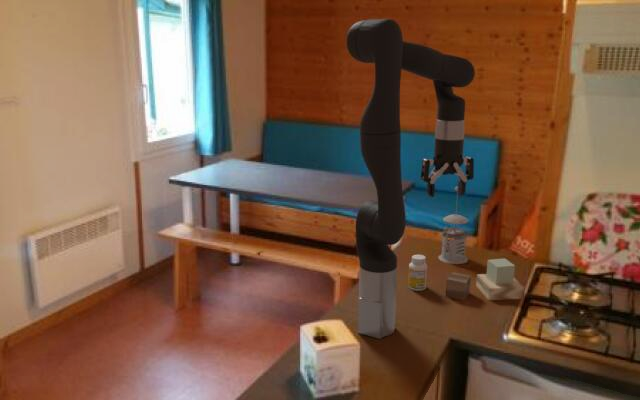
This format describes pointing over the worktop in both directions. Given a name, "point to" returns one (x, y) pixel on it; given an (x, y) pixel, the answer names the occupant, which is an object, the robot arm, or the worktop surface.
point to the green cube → (500, 271)
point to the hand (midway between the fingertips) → (445, 195)
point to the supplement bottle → (417, 273)
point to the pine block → (499, 289)
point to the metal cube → (458, 286)
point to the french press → (454, 240)
